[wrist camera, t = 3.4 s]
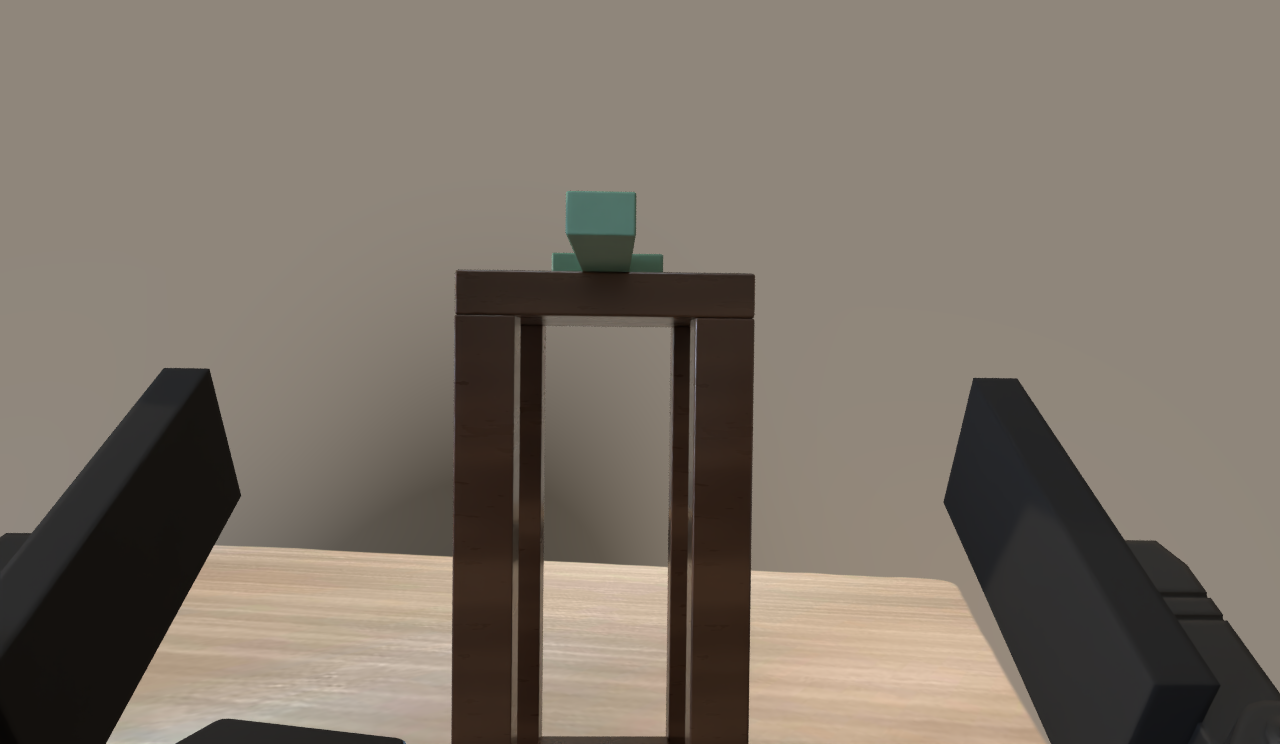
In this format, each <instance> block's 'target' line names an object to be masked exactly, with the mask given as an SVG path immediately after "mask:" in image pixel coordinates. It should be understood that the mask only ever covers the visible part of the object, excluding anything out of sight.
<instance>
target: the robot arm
mask: <svg viewBox="0 0 1280 744" xmlns="http://www.w3.org/2000/svg"><path fill="white" fill-rule="evenodd" d="M240 497H241V493H240V489H239V485H238V481H237V477H236V474H235V469H234V465H233V461H232V458H231V453H230V449H229V445H228V441H227V437H226V433H225V429H224V425H223V421H222V417H221V414H220V410H219V405H218V401H217V397H216V394H215V389H214V385H213V381H212V377H211V373H210V369H194V368H186V369H185V368H164V369H163V370H162V371H161V373H160V374H159V375H158V376H157V377H156V379H155V380H154V381H153V383H152V384H151V385H150V386H149V387H148V389H147V390H146V391H145V392H144V394H143V395H142V396H141V398H140V399H139V400H138V401H137V403H136V404H135V405H134V406H133V407H132V409H131V410H130V411H129V412H128V414H127V415H126V416H125V417H124V419H123V420H122V421H121V422H120V424H119V425H118V426H117V427H116V429H115V430H114V431H113V432H112V434H111V435H110V436H109V437H108V439H107V440H106V441H105V442H104V444H103V445H102V446H101V447H100V449H99V450H98V451H97V452H96V454H95V455H94V456H93V457H92V459H91V460H90V461H89V462H88V464H87V465H86V466H85V467H84V469H83V470H82V471H81V472H80V474H79V475H78V476H77V477H76V479H75V480H74V481H73V483H72V484H71V485H70V486H69V487H68V489H67V490H66V491H65V492H64V494H63V495H62V496H61V497H60V499H59V500H58V501H57V502H56V504H55V505H54V506H53V507H52V509H51V510H50V511H49V512H48V514H47V515H46V516H45V518H44V519H43V520H42V521H41V522H40V524H39V525H38V526H37V527H36V529H35V530H34V531H33V532H32V533H6V534H4V535H3V536H1V537H0V744H106V742H107V741H108V739H109V737H110V735H111V733H112V731H113V730H114V728H115V726H116V724H117V722H118V720H119V719H120V717H121V715H122V713H123V711H124V709H125V708H126V706H127V704H128V702H129V700H130V698H131V697H132V695H133V693H134V691H135V689H136V687H137V686H138V684H139V682H140V680H141V678H142V676H143V675H144V673H145V671H146V669H147V667H148V665H149V664H150V662H151V660H152V658H153V656H154V654H155V653H156V651H157V649H158V647H159V645H160V643H161V642H162V640H163V638H164V636H165V634H166V632H167V631H168V629H169V627H170V625H171V623H172V621H173V620H174V618H175V616H176V614H177V612H178V610H179V609H180V607H181V605H182V603H183V601H184V599H185V598H186V596H187V594H188V592H189V590H190V588H191V587H192V585H193V583H194V581H195V579H196V578H197V576H198V574H199V572H200V570H201V568H202V567H203V565H204V563H205V561H206V559H207V557H208V556H209V554H210V552H211V550H212V548H213V546H214V545H215V543H216V541H217V539H218V537H219V535H220V533H221V532H222V530H223V528H224V526H225V524H226V523H227V521H228V519H229V517H230V515H231V513H232V512H233V510H234V508H235V506H236V504H237V502H238V501H239V499H240ZM944 505H945V507H946V509H947V511H948V513H949V516H950V518H951V520H952V522H953V525H954V527H955V529H956V531H957V534H958V536H959V538H960V540H961V543H962V545H963V547H964V549H965V552H966V554H967V556H968V558H969V561H970V563H971V565H972V567H973V570H974V572H975V574H976V576H977V579H978V581H979V583H980V585H981V588H982V590H983V592H984V594H985V596H986V598H987V601H988V603H989V605H990V608H991V610H992V612H993V614H994V617H995V619H996V621H997V623H998V626H999V628H1000V630H1001V632H1002V635H1003V637H1004V639H1005V641H1006V644H1007V646H1008V648H1009V650H1010V653H1011V655H1012V657H1013V659H1014V662H1015V664H1016V666H1017V668H1018V671H1019V673H1020V675H1021V677H1022V679H1023V682H1024V684H1025V686H1026V689H1027V691H1028V693H1029V695H1030V697H1031V700H1032V702H1033V704H1034V707H1035V709H1036V711H1037V713H1038V715H1039V718H1040V720H1041V722H1042V724H1043V727H1044V729H1045V731H1046V733H1047V736H1048V738H1049V740H1050V742H1051V744H1280V693H1279V692H1278V690H1277V689H1276V688H1275V686H1274V685H1273V684H1272V682H1271V681H1270V679H1269V678H1268V676H1267V675H1266V674H1265V672H1264V671H1263V670H1262V668H1261V667H1260V665H1259V664H1258V663H1257V661H1256V660H1255V658H1254V657H1253V656H1252V654H1251V653H1250V652H1249V650H1248V649H1247V647H1246V646H1245V645H1244V643H1243V642H1242V641H1241V639H1240V638H1239V636H1238V635H1237V634H1236V632H1235V631H1234V629H1233V628H1232V627H1231V625H1230V624H1229V623H1228V621H1224V620H1223V614H1222V613H1221V612H1220V610H1219V609H1218V607H1217V606H1216V605H1215V603H1214V602H1213V601H1212V599H1211V598H1207V592H1206V591H1205V589H1204V588H1203V587H1202V585H1201V584H1200V582H1199V581H1198V580H1197V578H1196V577H1195V576H1194V574H1193V573H1192V572H1191V570H1190V569H1189V567H1188V566H1187V565H1186V564H1185V563H1184V562H1182V561H1181V560H1180V559H1179V558H1177V557H1176V556H1174V555H1173V554H1172V553H1171V552H1169V551H1168V550H1167V549H1165V548H1164V547H1163V546H1162V545H1161V544H1159V543H1158V542H1157V541H1133V540H1132V541H1131V540H1127V541H1125V540H1124V539H1123V537H1122V536H1121V534H1120V533H1119V531H1118V530H1117V528H1116V527H1115V525H1114V524H1113V522H1112V521H1111V519H1110V518H1109V516H1108V515H1107V513H1106V512H1105V510H1104V509H1103V507H1102V506H1101V504H1100V503H1099V501H1098V499H1097V498H1096V497H1095V495H1094V493H1093V492H1092V490H1091V489H1090V487H1089V486H1088V485H1087V483H1086V481H1085V480H1084V478H1083V477H1082V475H1081V474H1080V472H1079V471H1078V469H1077V468H1076V466H1075V465H1074V464H1073V462H1072V460H1071V459H1070V457H1069V456H1068V455H1067V453H1066V451H1065V450H1064V448H1063V447H1062V445H1061V444H1060V442H1059V441H1058V439H1057V438H1056V436H1055V435H1054V433H1053V432H1052V430H1051V429H1050V427H1049V426H1048V424H1047V423H1046V421H1045V420H1044V418H1043V417H1042V415H1041V414H1040V413H1039V411H1038V409H1037V408H1036V406H1035V405H1034V403H1033V402H1032V401H1031V399H1030V397H1029V396H1028V394H1027V393H1026V391H1025V390H1024V388H1023V387H1022V385H1021V384H1020V382H1019V381H1018V379H1012V378H1008V379H1007V378H1006V379H1005V378H1003V379H1002V378H973V382H972V386H971V390H970V394H969V398H968V403H967V407H966V411H965V415H964V419H963V423H962V428H961V432H960V436H959V440H958V444H957V448H956V453H955V457H954V461H953V465H952V469H951V473H950V477H949V482H948V486H947V490H946V494H945V499H944Z"/></svg>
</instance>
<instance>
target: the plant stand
mask: <svg viewBox="0 0 1280 744" xmlns="http://www.w3.org/2000/svg"><path fill="white" fill-rule="evenodd" d="M754 306H755V275H754V274H745V273H743V274H741V273H672V272H671V273H670V272H669V273H668V272H598V271H525V270H456V272H455V313H456V314H457V315H455V320H454V460H453V461H454V462H453V468H454V469H453V475H454V476H453V601H452V742H451V744H748V730H749V661H750V591H751V522H752V518H751V517H752V450H753V382H754V381H753V380H754V379H753V378H754V377H753V376H754V319H752V318H754V308H755V307H754ZM545 326H602V327H606V326H607V327H672V328H671V368H670V449H669V450H670V452H669V530H668V532H669V533H668V536H669V537H668V611H667V692H666V737H551V736H542V675H543V567H544V558H543V557H544V459H545V455H544V454H545V349H546V327H545Z"/></svg>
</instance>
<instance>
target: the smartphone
mask: <svg viewBox="0 0 1280 744" xmlns="http://www.w3.org/2000/svg"><path fill="white" fill-rule="evenodd" d="M176 744H406V743H405V741H403V740H401V739H398V738H392V737H383V736H374V735H366V734H357V733H348V732H340V731H331V730H322V729H314V728H305V727H296V726H288V725H279V724H270V723H262V722H253V721H245V720H236V719H221V720H218V721H215V722H213V723H211V724H210V725H208V726H206V727H204V728H203V729H201V730H199V731H197V732H195V733H194V734H192V735H190V736H188V737H187V738H185V739H183V740H181V741H179V742H178V743H176Z"/></svg>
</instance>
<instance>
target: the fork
mask: <svg viewBox="0 0 1280 744" xmlns="http://www.w3.org/2000/svg"><path fill="white" fill-rule="evenodd" d="M566 234H567V237H568V239H569V242H570V244H571V246H572V249H573V251H574V253H553V254H552V271H598V272H663V255H661V254H632V253H633V248H634V242H635V236H636V193H635V192H597V191H593V192H592V191H567V193H566Z"/></svg>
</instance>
